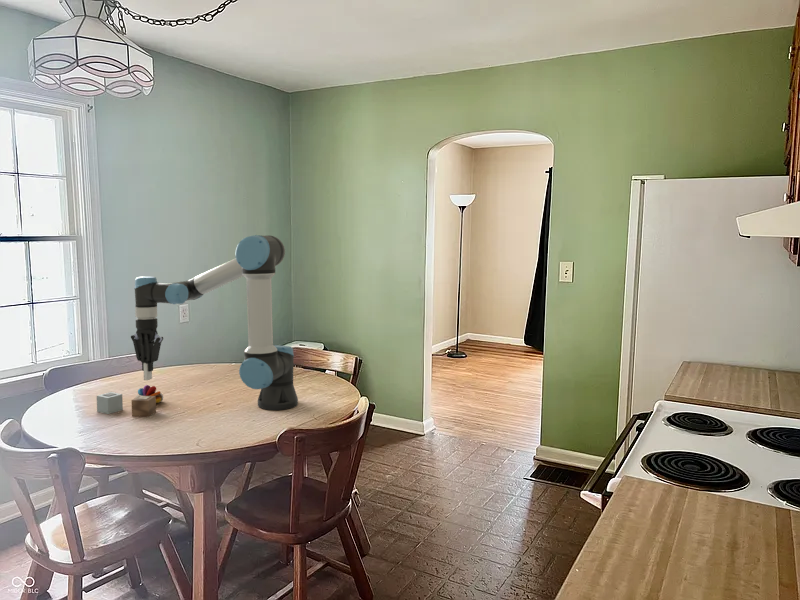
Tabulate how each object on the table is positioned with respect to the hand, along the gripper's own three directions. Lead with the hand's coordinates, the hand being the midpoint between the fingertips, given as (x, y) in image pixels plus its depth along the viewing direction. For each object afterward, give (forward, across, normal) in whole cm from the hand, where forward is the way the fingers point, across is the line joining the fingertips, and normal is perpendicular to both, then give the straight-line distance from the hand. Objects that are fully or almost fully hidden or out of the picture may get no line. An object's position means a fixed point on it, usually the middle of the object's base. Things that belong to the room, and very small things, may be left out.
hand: (147, 379), depth 224 cm
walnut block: (+10, -7, +11) cm, 16 cm away
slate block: (+10, +7, +12) cm, 17 cm away
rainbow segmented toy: (+10, 0, 0) cm, 10 cm away
